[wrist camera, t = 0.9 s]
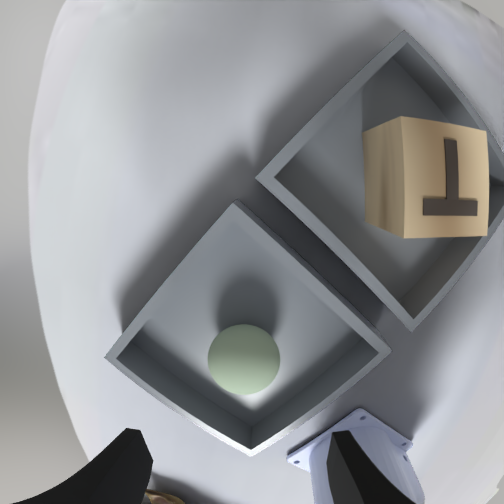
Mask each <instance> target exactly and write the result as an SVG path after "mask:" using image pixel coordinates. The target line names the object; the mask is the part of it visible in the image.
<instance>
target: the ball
mask: <svg viewBox="0 0 504 504" xmlns="http://www.w3.org/2000/svg"><path fill="white" fill-rule="evenodd" d="M207 359H208V367H209V371H210V373H211V375H212V377H213V379H214V380H215V381H216V383H217V384H218V385H219V386H221V387H222V388H223V389H225V390H227V391H229V392H231V393H234V394H240V395H249V394H254V393H257V392H259V391H261V390H263V389H265V388H266V387H267V386H269V385H270V384H271V383H272V381H273V380H274V379H275V377H276V375H277V373H278V371H279V367H280V353H279V349H278V346H277V344H276V342H275V341H274V339H273V338H272V337H271V336H270V335H269V334H268V333H267V332H266V331H264V330H263V329H261V328H259V327H256V326H253V325H248V324H240V325H234V326H231V327H228V328H226V329H225V330H223V331H222V332H220V333H219V334H218V335H217V336H216V337H215V339H214V340H213V342H212V343H211V346H210V348H209V351H208V358H207Z"/></svg>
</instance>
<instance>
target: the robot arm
mask: <svg viewBox="0 0 504 504" xmlns="http://www.w3.org/2000/svg"><path fill="white" fill-rule="evenodd" d="M362 416H363V417H362ZM412 446H413V443H412V441H410V440H408V439H407V438H405V437H404V436H402V435H401V434H399V433H398V432H396V431H395V430H393V429H392V428H390V427H389V426H387V425H386V424H384V423H383V422H381V421H380V420H378V419H377V418H376V417H374V416H373V415H371V414H370V413H368V412H367V411H365V410H364V409H362V408H359V409H356V410H354V411H353V412H352V413H350V414H349V415H348V416H346V417H345V418H344V419H342V420H341V421H340V422H338V423H337V424H336V425H334V426H333V427H331V428H330V429H328V430H327V431H326V432H324V433H323V434H321V435H320V436H318V437H317V438H315V439H314V440H312V441H311V442H309V443H307V444H306V445H304V446H303V447H301V448H300V449H298V450H296V451H295V452H293V453H291V454H290V455H288V456H287V462H289V463H291V464H293V465H295V466H297V467H299V468H302V469H304V470H306V471H308V472H310V474H311V481H312V489H313V496H314V503H315V504H424V502H425V496H424V492H423V490H422V487H421V485H420V483H419V480H418V478H417V476H416V474H415V471H414V469H413V467H412V465H411V462H410V460H409V458H408V456H407V454H406V451H408V450H409V449H411V448H412ZM152 464H153V459H152V457H151V454H150V452H149V450H148V448H147V445H146V443H145V440H144V438H143V436H142V433H141V431H140V430H136V429H130V428H126V429H125V430H124V431H123V432H122V433H121V434H120V435H119V436H117V437H116V438H115V439H114V440H113V441H112V442H111V443H110V444H109V445H108V446H107V447H106V448H105V449H104V450H103V451H102V452H101V453H100V454H98V455H97V456H96V457H95V458H94V459H93V460H92V461H91V462H89V463H88V464H87V465H86V466H85V467H83V468H82V469H81V470H79V471H78V472H77V473H75V474H74V475H73V476H71V477H70V478H68V479H67V480H65V481H64V482H62V483H61V484H59V485H57V486H56V487H53V488H52V489H50V490H48V491H46V492H43V493H41V494H39V495H37V496H35V497H32V498H29V499H26V500H23V501H20V502H17V503H13V504H141V502H142V500H143V497H144V494H145V491H146V489H147V486H148V483H149V479H150V475H151V470H152Z"/></svg>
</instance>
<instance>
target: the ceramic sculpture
mask: <svg viewBox="0 0 504 504" xmlns="http://www.w3.org/2000/svg"><path fill="white" fill-rule="evenodd" d="M145 494H146V495H147V496H148V497H149V499H150V502H151V504H185V503H184V502H183V501H182V500H181V499H180V498H178V497H176V496H173V495H169V494H166V493H163V492H158V491H153V490H149V489H146V491H145Z"/></svg>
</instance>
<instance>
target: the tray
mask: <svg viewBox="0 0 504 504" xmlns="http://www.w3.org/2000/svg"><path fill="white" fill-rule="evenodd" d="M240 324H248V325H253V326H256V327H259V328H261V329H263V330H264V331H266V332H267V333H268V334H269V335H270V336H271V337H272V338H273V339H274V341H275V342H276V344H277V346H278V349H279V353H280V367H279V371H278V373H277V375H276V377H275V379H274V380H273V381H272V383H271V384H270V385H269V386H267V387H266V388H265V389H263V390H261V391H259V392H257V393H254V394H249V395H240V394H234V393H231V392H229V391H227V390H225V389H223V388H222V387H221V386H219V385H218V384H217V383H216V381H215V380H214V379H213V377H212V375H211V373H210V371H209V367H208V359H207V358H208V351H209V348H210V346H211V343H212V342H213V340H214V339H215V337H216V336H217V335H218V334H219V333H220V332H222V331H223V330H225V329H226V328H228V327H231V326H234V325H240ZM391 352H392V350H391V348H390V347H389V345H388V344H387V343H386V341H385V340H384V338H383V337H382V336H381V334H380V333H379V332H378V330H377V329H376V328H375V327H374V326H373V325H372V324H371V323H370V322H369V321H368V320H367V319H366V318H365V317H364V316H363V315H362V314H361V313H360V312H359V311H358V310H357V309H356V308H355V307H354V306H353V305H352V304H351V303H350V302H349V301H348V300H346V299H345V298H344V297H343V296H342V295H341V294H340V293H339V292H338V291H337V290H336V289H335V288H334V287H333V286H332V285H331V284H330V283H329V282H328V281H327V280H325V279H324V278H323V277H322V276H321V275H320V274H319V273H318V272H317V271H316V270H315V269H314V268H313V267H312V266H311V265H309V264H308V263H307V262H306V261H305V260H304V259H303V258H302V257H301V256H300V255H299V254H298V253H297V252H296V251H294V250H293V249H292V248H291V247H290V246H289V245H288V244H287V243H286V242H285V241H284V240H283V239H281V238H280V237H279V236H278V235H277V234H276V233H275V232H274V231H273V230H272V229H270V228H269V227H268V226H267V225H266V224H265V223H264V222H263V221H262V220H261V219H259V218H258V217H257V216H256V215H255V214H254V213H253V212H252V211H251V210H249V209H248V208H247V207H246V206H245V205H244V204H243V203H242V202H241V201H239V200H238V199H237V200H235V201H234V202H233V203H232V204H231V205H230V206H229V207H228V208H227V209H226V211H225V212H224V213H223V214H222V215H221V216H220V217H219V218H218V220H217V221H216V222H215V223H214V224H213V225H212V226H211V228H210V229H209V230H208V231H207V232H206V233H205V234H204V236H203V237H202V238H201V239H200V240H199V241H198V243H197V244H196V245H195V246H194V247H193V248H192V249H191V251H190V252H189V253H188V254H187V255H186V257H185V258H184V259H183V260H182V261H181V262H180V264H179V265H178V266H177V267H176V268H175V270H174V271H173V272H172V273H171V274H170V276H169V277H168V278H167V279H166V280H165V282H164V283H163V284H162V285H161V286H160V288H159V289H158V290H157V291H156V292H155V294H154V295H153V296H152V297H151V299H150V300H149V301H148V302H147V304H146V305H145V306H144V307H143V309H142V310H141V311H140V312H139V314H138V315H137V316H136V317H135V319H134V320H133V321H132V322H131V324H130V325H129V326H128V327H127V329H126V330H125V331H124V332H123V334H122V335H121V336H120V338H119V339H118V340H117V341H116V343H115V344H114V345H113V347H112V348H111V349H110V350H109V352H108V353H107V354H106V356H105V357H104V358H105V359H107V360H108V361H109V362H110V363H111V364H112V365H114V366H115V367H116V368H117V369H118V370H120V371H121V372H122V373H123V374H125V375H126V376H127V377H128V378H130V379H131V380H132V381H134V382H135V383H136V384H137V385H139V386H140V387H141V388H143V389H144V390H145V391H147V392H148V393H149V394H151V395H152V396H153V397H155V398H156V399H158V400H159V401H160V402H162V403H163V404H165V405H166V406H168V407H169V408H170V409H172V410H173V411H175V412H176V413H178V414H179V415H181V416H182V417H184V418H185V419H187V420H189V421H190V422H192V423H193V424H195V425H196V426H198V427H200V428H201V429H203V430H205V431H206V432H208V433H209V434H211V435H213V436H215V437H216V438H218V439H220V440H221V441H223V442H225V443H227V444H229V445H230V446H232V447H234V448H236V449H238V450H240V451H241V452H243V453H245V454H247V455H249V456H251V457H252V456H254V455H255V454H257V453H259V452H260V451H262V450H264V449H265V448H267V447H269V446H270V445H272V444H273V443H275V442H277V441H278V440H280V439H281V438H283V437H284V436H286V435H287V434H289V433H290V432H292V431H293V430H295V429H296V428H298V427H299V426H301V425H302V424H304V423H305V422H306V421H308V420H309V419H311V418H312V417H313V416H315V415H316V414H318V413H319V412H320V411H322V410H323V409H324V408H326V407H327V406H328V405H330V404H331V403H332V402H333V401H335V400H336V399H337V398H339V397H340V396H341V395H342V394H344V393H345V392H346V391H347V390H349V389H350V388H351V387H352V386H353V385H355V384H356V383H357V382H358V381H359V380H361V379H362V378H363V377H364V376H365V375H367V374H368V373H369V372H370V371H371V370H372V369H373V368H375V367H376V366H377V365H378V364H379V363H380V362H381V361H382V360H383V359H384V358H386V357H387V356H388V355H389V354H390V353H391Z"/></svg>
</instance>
